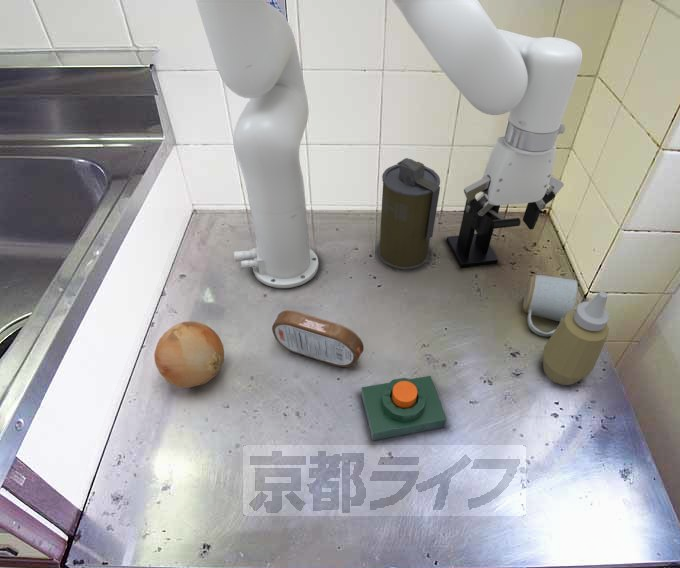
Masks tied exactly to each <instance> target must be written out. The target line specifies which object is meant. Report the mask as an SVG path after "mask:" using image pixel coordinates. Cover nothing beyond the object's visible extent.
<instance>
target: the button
mask: <svg viewBox="0 0 680 568" xmlns="http://www.w3.org/2000/svg"><path fill="white" fill-rule="evenodd" d="M416 398H417V388H416V386H415V385H414V384H413V383H411V382H408V381H400V382H398V383H396V384H395V385H394V387H393V392H392V400H393V402H394V404H395V405H397V406H398V407H401V408H409V407H411V406H413V405H414V404H415V402H416Z"/></svg>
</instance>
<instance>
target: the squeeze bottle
mask: <svg viewBox="0 0 680 568" xmlns="http://www.w3.org/2000/svg"><path fill="white" fill-rule="evenodd" d="M608 297H609V295H608V293H607V292H606V291H599V292H598V293H597V294H596V295H595V296H594V297H593V299H591V300H590V301H583V302H580V303H579V304H577V306H576V308H574V309H573V310H572V311H569V312H568V313H567V314H566V315H565V317H564V318H563V320H562V321H561V323H560V322H559V324H558V325H557V327H556V328H557V329H556V328H555V329H556V330H555V329H554V330H555V331H554V333H553V334H552V336H549V339H548V340H547V342H546V343H545V345H544V346H543V351H542V368H543V372H544V374H545V375H546V376H547V377H548V379H549V380H551V381H552V382H554V383H556V384H559V385H561V386H570V385H573V384H576V383H577V382H579V381H581V380H583V379H584V378H586V377H588V376H589V375H590V374H591V373H592V371H594V368H595V366H596V363H597V361H598V359H599V356H600V354H601V352H602V350H603V348H604V345H605V344H606V341H607V338H608V336H609V332H610V328H609V325H608V322H609V321H610V313H609V311H608V310H607V309H606V305H607V300H608Z"/></svg>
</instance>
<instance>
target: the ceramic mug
mask: <svg viewBox="0 0 680 568" xmlns="http://www.w3.org/2000/svg"><path fill="white" fill-rule="evenodd" d="M578 285H579V284H578V281H577V280H576V279H570V278H563V277H556V276H550V275H543V274H534V275H531V276H530V277H529V279H528V283H527V285H526V287H525V288H526V289H525V293H524V298H523V303H522V308H523V311H524V312H526V313H528V314H527V324H528V328H529V329H530V330H531V331H532V332H533V333H534V334H536V335H538V336H541V337H551V336H552V334H553V333H554V331H555V330H556V329H557V327H556V328H555V329H553V330H551V331H548V332H545V331H542V330H540V329H539V328H538V327H536V326H535V325H534V324H533V321H532V315H533V316H535V317H536V316H537V317H542V318H545V319H547V320H548V319H549V320H552V321H556V322H559V324H560V323H561V321H562V320H563V318H564V317H565V315H566V314H567V313H568V312H569V311H572V310H575V305H576V303H577V302H576V301H577V296H578V291H579V289H578V287H579V286H578Z"/></svg>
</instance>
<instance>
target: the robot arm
mask: <svg viewBox="0 0 680 568" xmlns="http://www.w3.org/2000/svg"><path fill="white" fill-rule="evenodd" d="M392 2H393V3H394V4H395V6H396V7H397V8H398V10H399V11H400V12H401V15H402V16H403V18H404V20H405V21H406V23H407V24H408V25H409V27H410V28H411V29H412V31H413V32H414V33H415V35H416V36H417V37H418V39H419V40H420V41H421V43H422V44H423V46H424V48H426V50H427V51H428V53H429V54H430V56H431V57H432V58H433V60H434V61H435V63H436V64H437V65H438V67H439V68H440V70H441V71H442V72H443V73H444V75H445V76H446V77H447V79H449V80H450V82H451V83H452V84H453V85H454V86H455V88H457V90H458V91H459V92H460V94H461V95H462V96H463V97H464V98H465V99H466V100H467V101H468V102H469V104H470V105H471V106H473V108H474V109H476V110H478V111H479V112H481V113H482V114H486V115H489V116H500V115H501V116H502V115H504V114H507V113H509V114H508V117H507V122H506V126H505V129H504V133H503V136H499V137H498V138H497V140H496V141H495V144H494V146H493V147H492V149H491V151H490V154H489V156H488V159H487V162H486V164H485V168H484V171H483V175H482V177H481V179H479V180H478V181H475V182H474V183H471V184H470V185H468V186H466V187H465V188H463V193H464V196H465V198H466V199H467V201H468V203H469V204H470V206H471V207H472V208H473V209H474V214H473V218H472V227H473V228H474V229H475V233H476V234H478V235H482V234H483V231H484V227H485V223H486V220H487V215H486V214H485V213H486V212H487V211H488V210H490V209H491V208H492V207H493V206H494V205H500V206H508V205H518V204H527V205H526V207H525V211H524V214H523V217H522V221H523V222H524V224H525V225H526V227H527V228H528V230H531V231H532V230H534V229H535V226H536V224H537V223H538V219H539V217H540V214H541V211H543V210H544V209H546V207H547V204H549V203H550V202H551V201H553V200H554V199H555V197H556V194H558V193H559V192H560V191H561V190H562V188H563V187H564V184H565V183H563V181H562V180H561V179H560V178H558V177H556V176H554V175H552V174H553V172H554V167H555V162H556V161H555V160H556V155H557V154H556V153H557V144H556V140H557V137H558V135H561V134H564V133H565V130H566V125H565V124H564V123H563V119H564V115H565V113H566V110H567V107H568V104H569V101H570V99H571V95H572V92H573V89H574V86H575V83H576V80H577V77H578V75H579V71H580V70H581V69H580V68H581V65H582V63H583V51H582V49H581V47H580V46H579V45H578V44H576V43H575V42H573V41H571V40H569V39H565V38H561V37H554V36H545V37H533V36H529V35H523V34H520V33H516V32H512V31H509V30H505V29H501V28H497V27H496V25H495V24H494V23H493V21H492V19H490V16H489V15H488V14H487V12H486V11H485V9H484V7H483V6H482V5H481V2H480V1H479V0H392ZM195 3H196V6H197V10H198V12H199V15H200V19H201V21H202V25H203V27H204V32H205V35H206V38H207V40H208V44H209V47H210V51H211V53H212V57H213V60H214V63H215V66H216V69H217V71H218V74H219V76H220V79H221V80H222V81H223V83H224V85H225V86H226V87H227V88H228V89H229V90H230V91H231V92H232V93H234V94H235V95H237V96H238V97H241V98H244V99H249V100H248V102H247V103H246V104H245V106H244V108H243V109H242V111H241V113H240V115H239V117H238V119H237V122H236V124H235V128H234V130H233V149H234V153H235V156H236V159H237V163H238V165H239V168H240V170H241V173H242V176H243V177H242V178H243V180H244V185H245V190H246V194H247V200H248V205H249V209H250V210H249V211H250V215H251V221H252V227H253V231H254V236H255V247H251V248H250V250H237V251H233V258H234V262H235V263H236V262H240V264H241V268H242V269H248V268H252V270H253V271H252V272H253V274H254V276H255V278H256V279H257V280H258V281H259V282H261V283H262V284H263V285H266V286H269V287H271V288H275V289H290V288H295V287H299V286H302V285H304V284H307V282H310V280H312V279H313V278H314V277H315V276H316V274H317V272H318V271H319V258H318V254H316V252H315V251H314V250H313V249H312V248H310V239H309V228H308V218H307V217H308V216H307V204H306V193H305V183H304V176H303V171H302V167H301V160H300V159H301V158H300V149H301V143H302V139H303V137H304V133H305V130H306V128H307V124H308V121H309V114H310V113H309V110H310V109H309V102H308V101H309V100H308V97H307V91H306V86H305V82H304V77H303V71H302V67H301V62H300V61H301V60H300V57H299V51H298V46H297V42H296V38H295V35H294V31H293V30H292V27H291V25H290V24H289V23H290V22H288V20H287V18H286V17H285V15H284V14H283V13H282V12H281V11H280V10H279V9H278V8H277V7H275V6H274V5H272V4H270V3H268V2H267V1H266V0H195ZM479 193H481V195H479V196H478V197H477V198H476V195H477V194H479ZM486 200H488V201H487V202H486V203H485V204H484V205H483V206H482V204H483V203H484V202H485V201H486Z"/></svg>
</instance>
